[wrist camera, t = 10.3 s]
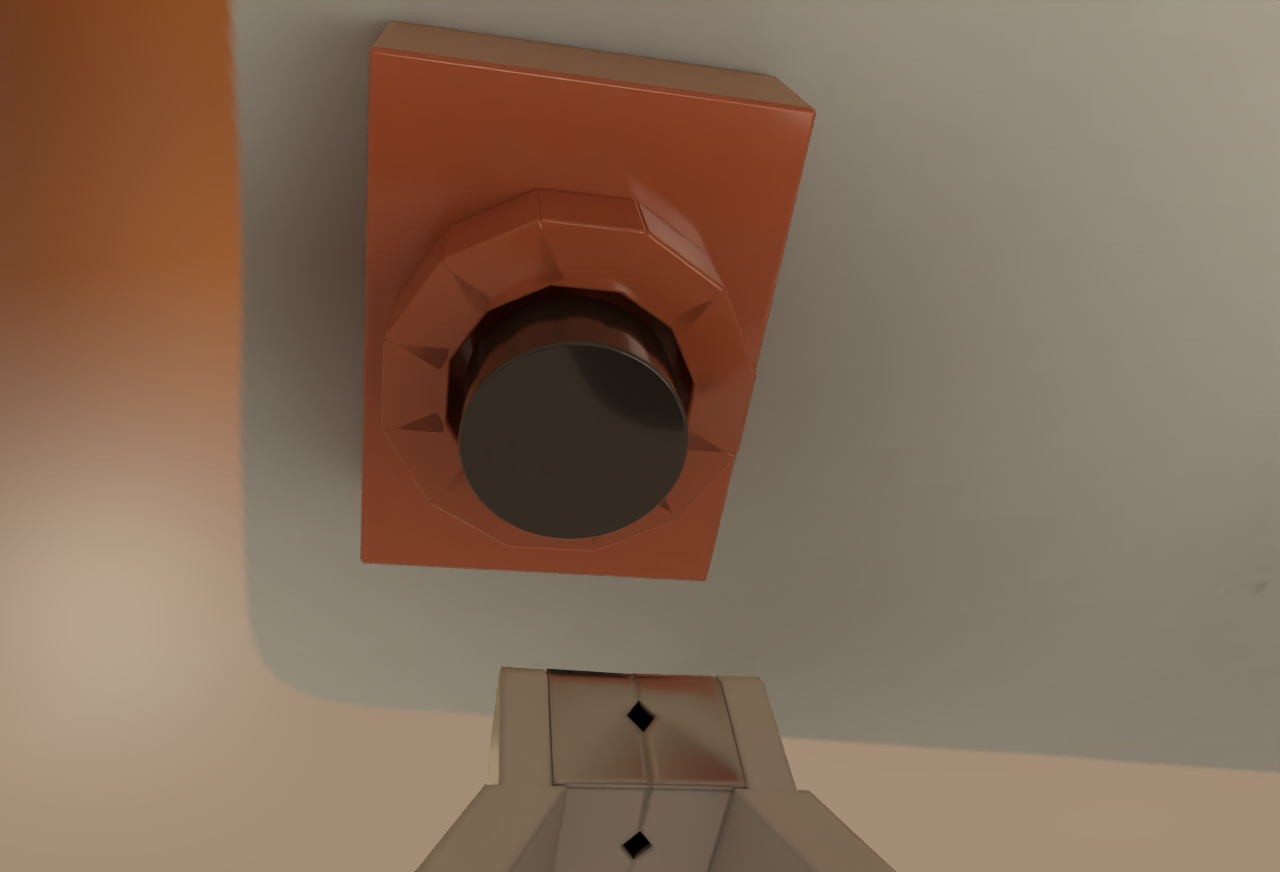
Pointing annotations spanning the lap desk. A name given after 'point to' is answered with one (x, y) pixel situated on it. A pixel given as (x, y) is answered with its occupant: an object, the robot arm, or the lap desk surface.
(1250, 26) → the lap desk surface
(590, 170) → the orange knob box
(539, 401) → the button
